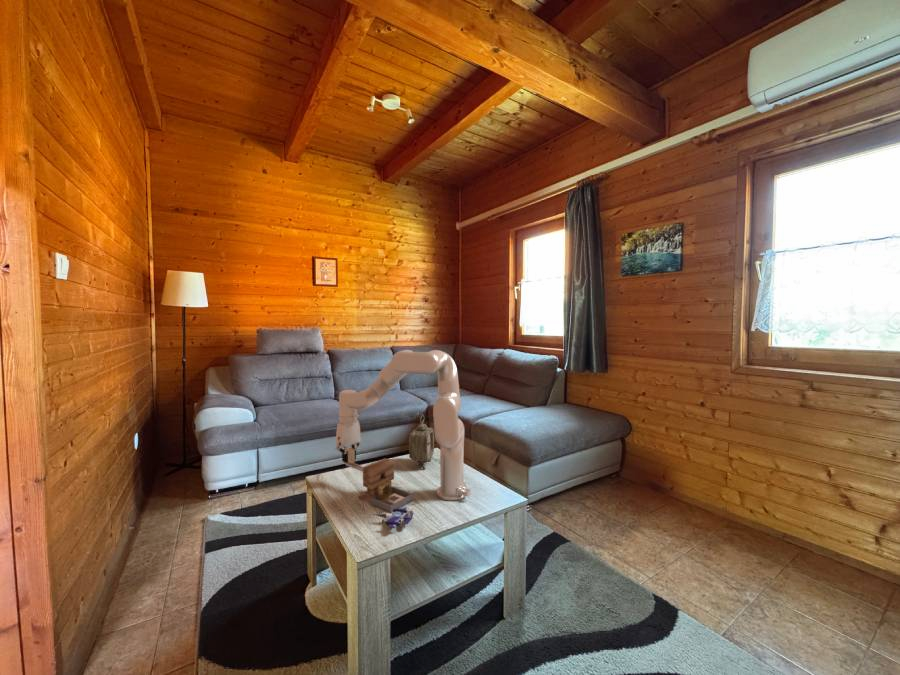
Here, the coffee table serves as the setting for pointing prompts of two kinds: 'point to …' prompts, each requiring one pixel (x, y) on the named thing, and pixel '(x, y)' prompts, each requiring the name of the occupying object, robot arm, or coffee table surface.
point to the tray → (397, 505)
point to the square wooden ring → (389, 499)
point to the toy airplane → (397, 517)
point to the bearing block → (376, 477)
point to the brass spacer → (380, 490)
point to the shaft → (352, 460)
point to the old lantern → (421, 443)
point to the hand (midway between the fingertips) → (349, 460)
